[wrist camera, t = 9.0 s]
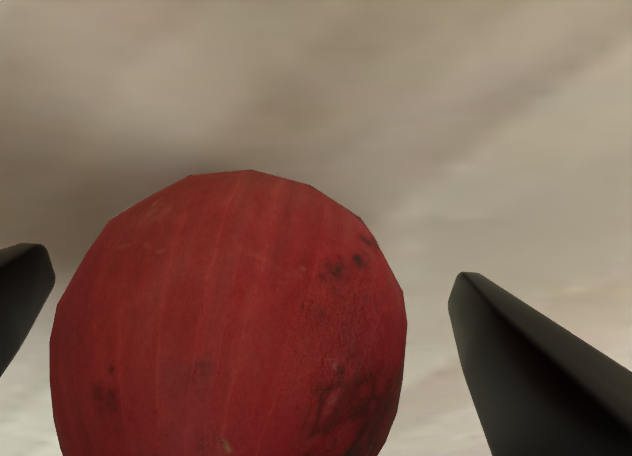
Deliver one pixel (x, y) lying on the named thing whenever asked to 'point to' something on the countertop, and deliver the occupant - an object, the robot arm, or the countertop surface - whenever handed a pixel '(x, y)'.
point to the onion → (229, 327)
